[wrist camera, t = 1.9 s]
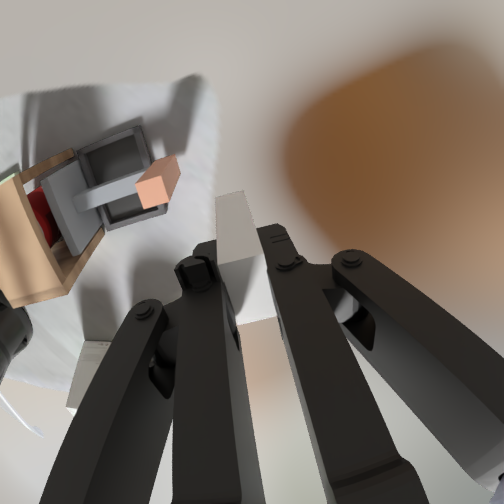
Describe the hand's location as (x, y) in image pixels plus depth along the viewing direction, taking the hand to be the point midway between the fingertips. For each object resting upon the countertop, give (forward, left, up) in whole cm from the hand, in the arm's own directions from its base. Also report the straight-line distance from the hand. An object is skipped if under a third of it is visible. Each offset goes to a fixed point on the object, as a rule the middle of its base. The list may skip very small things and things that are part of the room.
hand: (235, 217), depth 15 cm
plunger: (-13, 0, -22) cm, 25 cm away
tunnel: (-24, 0, -23) cm, 33 cm away
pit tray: (-14, 0, -23) cm, 26 cm away
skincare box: (-32, -30, -23) cm, 50 cm away
